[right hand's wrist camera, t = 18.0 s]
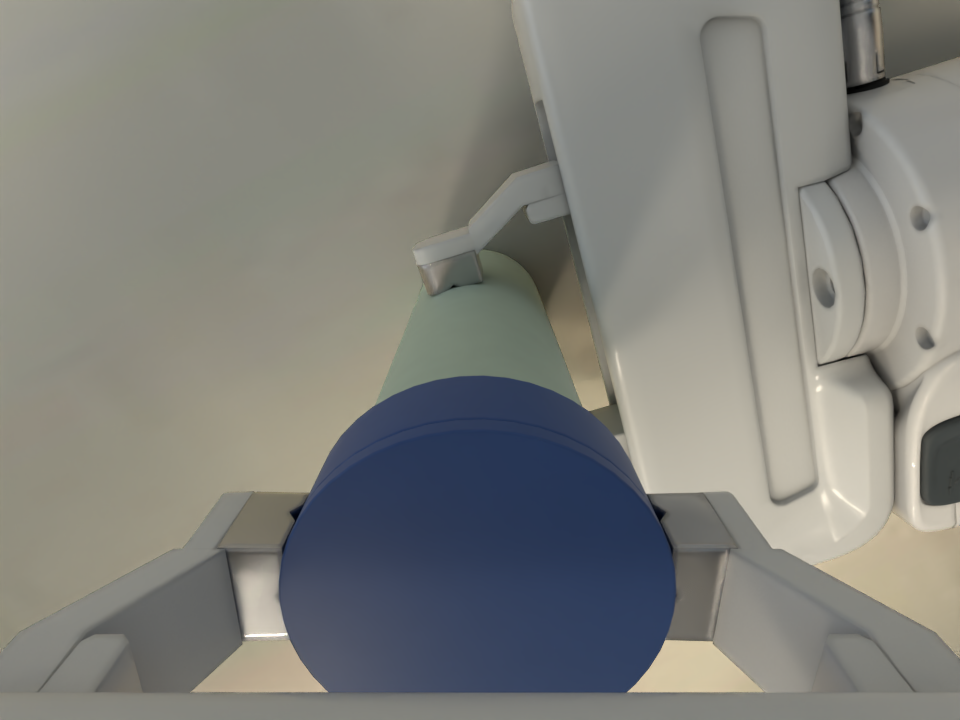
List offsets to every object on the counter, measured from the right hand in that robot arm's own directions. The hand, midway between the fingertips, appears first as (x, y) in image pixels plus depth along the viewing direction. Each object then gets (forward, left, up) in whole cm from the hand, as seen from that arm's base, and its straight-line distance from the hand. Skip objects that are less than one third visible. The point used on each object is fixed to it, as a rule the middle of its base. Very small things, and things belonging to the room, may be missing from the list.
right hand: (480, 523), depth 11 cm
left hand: (0, +1, -9) cm, 9 cm away
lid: (0, 0, +2) cm, 2 cm away
